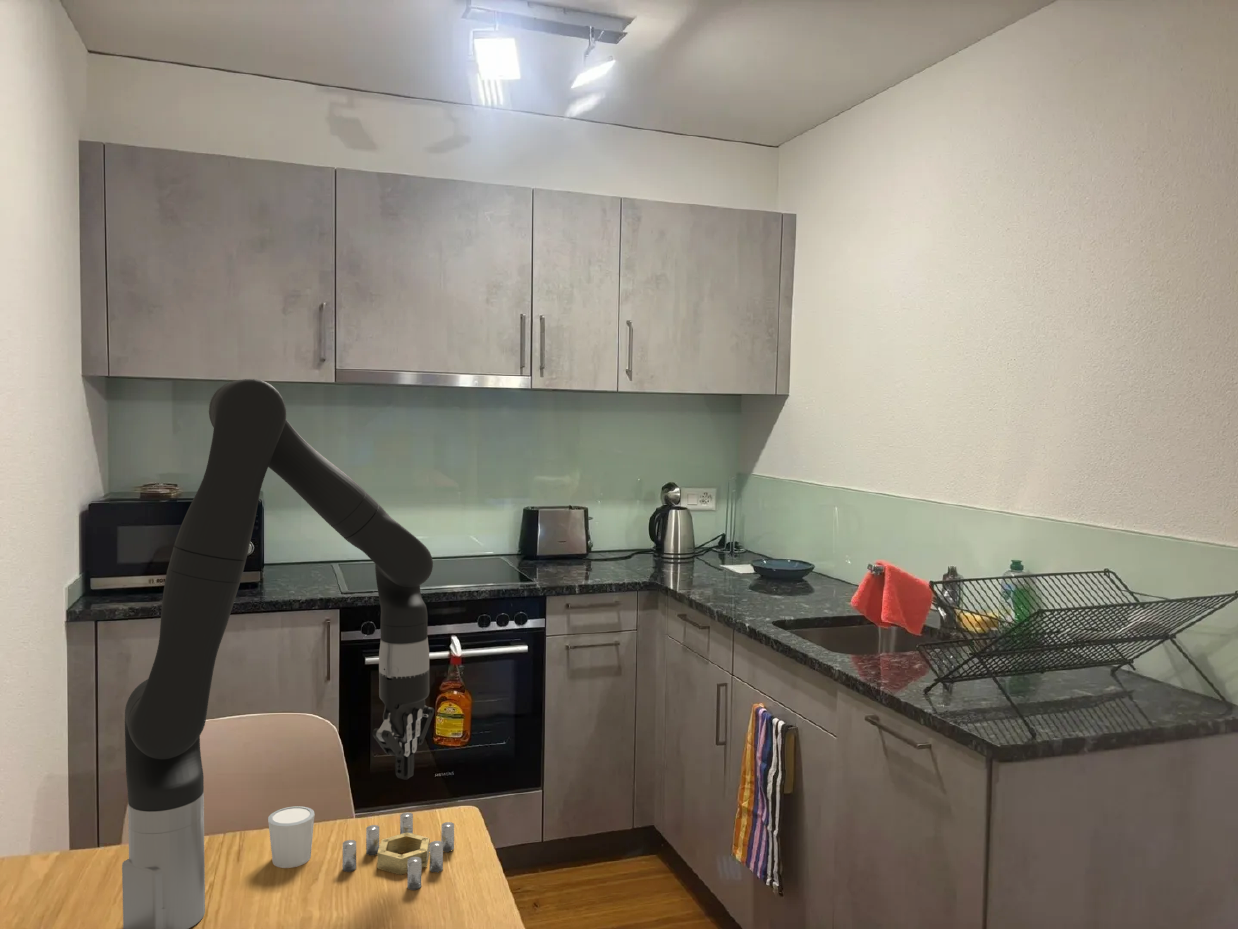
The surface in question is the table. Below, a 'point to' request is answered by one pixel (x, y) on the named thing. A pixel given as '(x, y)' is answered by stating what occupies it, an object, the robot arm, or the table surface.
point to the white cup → (291, 836)
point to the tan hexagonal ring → (402, 843)
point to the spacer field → (413, 862)
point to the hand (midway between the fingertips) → (404, 777)
